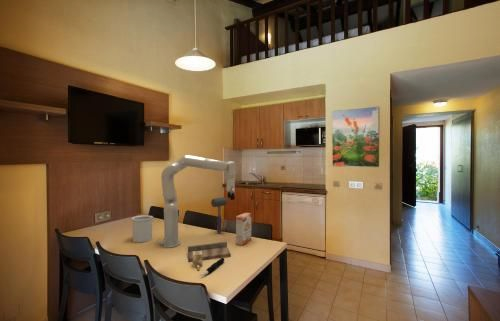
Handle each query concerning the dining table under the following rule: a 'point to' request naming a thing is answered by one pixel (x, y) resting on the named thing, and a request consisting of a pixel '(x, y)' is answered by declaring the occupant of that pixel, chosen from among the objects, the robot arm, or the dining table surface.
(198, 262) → the gauge
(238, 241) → the cracker box
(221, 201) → the rubber mallet
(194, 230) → the dining table surface
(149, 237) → the utensil holder
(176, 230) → the robot arm
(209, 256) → the board
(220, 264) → the utility knife
